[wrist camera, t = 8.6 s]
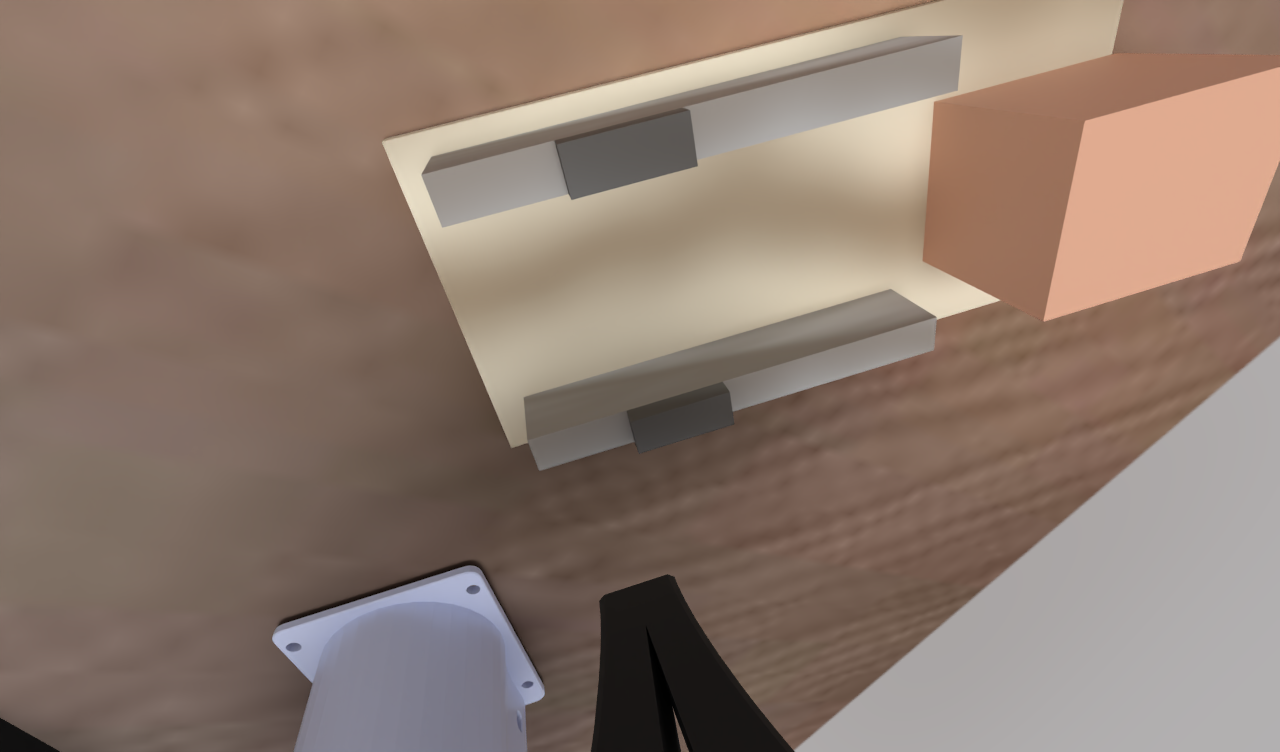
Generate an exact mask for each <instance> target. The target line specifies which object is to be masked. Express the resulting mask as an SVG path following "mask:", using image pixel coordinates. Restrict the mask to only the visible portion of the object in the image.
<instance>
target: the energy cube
mask: <svg viewBox="0 0 1280 752" xmlns="http://www.w3.org/2000/svg"><path fill="white" fill-rule="evenodd" d="M0 752H60V751H58V750H56V749H54V748H53V747H51V746H49V745H47V744H45V743H44V742H42V741H40V740H38V739H37V738H35V737H33V736H31V735H30V734H28V733H26V732H24V731H22V730H21V729H19V728H17V727H15V726H14V725H12V724H10V723H8V722H7V721H5V720H3V719H1V718H0Z"/></svg>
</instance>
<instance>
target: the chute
mask: <svg viewBox="0 0 1280 752" xmlns="http://www.w3.org/2000/svg"><path fill="white" fill-rule="evenodd" d="M1123 1H1124V0H935V1H931V2H927V3H923V4H919V5H915V6H912V7H908V8H904V9H900V10H896V11H892V12H888V13H884V14H880V15H876V16H872V17H868V18H864V19H860V20H856V21H852V22H848V23H844V24H840V25H836V26H832V27H828V28H824V29H820V30H816V31H812V32H808V33H804V34H800V35H796V36H792V37H788V38H784V39H780V40H776V41H772V42H768V43H764V44H760V45H756V46H752V47H748V48H744V49H740V50H736V51H732V52H728V53H724V54H720V55H716V56H712V57H708V58H704V59H700V60H696V61H692V62H688V63H684V64H680V65H676V66H672V67H668V68H664V69H660V70H656V71H652V72H648V73H644V74H640V75H636V76H633V77H629V78H625V79H621V80H617V81H613V82H609V83H605V84H601V85H597V86H593V87H589V88H585V89H581V90H577V91H573V92H569V93H565V94H561V95H557V96H553V97H549V98H545V99H541V100H537V101H533V102H529V103H525V104H521V105H517V106H513V107H509V108H505V109H501V110H497V111H493V112H489V113H485V114H481V115H477V116H473V117H469V118H465V119H461V120H457V121H453V122H449V123H445V124H441V125H437V126H433V127H429V128H425V129H421V130H417V131H413V132H409V133H405V134H401V135H397V136H393V137H389V138H386V139H384V140H383V141H382V144H383V146H384V148H385V151H386V153H387V155H388V158H389V160H390V162H391V165H392V167H393V170H394V172H395V174H396V177H397V179H398V181H399V184H400V186H401V188H402V191H403V193H404V196H405V198H406V200H407V203H408V205H409V207H410V210H411V212H412V214H413V217H414V219H415V222H416V224H417V226H418V229H419V231H420V233H421V236H422V238H423V240H424V243H425V245H426V248H427V250H428V252H429V255H430V257H431V259H432V262H433V264H434V266H435V269H436V271H437V274H438V276H439V278H440V281H441V283H442V285H443V288H444V290H445V292H446V295H447V297H448V300H449V302H450V304H451V307H452V309H453V311H454V314H455V316H456V318H457V321H458V323H459V326H460V328H461V330H462V333H463V335H464V337H465V340H466V342H467V344H468V347H469V349H470V352H471V354H472V356H473V359H474V361H475V363H476V366H477V368H478V370H479V373H480V375H481V378H482V380H483V382H484V385H485V387H486V389H487V392H488V394H489V396H490V399H491V401H492V404H493V406H494V408H495V411H496V413H497V415H498V418H499V420H500V422H501V425H502V427H503V430H504V432H505V434H506V437H507V439H508V441H509V444H510V446H511V448H513V447H516V446H519V445H523V444H526V443H528V444H529V446H530V449H531V451H532V454H533V456H534V459H535V461H536V464H537V466H538V469H539V471H541V470H544V469H547V468H551V467H554V466H557V465H560V464H564V463H567V462H570V461H573V460H577V459H580V458H583V457H587V456H590V455H593V454H596V453H600V452H603V451H606V450H609V449H613V448H616V447H619V446H622V445H626V444H629V443H632V442H635V444H636V447H637V449H638V452H639V454H640V453H643V452H646V451H649V450H653V449H656V448H659V447H662V446H665V445H669V444H672V443H675V442H678V441H682V440H685V439H688V438H691V437H695V436H698V435H701V434H704V433H708V432H711V431H714V430H717V429H721V428H724V427H727V426H730V425H734V418H733V411H737V410H740V409H743V408H746V407H750V406H753V405H756V404H759V403H763V402H766V401H769V400H773V399H776V398H779V397H782V396H786V395H789V394H792V393H795V392H799V391H802V390H805V389H808V388H812V387H815V386H818V385H821V384H825V383H828V382H831V381H835V380H838V379H841V378H844V377H848V376H851V375H854V374H857V373H861V372H864V371H867V370H870V369H874V368H877V367H880V366H884V365H887V364H890V363H893V362H897V361H900V360H903V359H906V358H910V357H913V356H916V355H919V354H923V353H926V352H929V351H932V350H934V343H935V332H936V321H937V319H940V318H944V317H947V316H950V315H954V314H957V313H960V312H964V311H967V310H970V309H974V308H977V307H980V306H983V305H987V304H990V303H993V302H997V301H1000V300H999V299H997V298H995V297H993V296H991V295H989V294H987V293H985V292H983V291H981V290H979V289H977V288H975V287H973V286H971V285H969V284H967V283H965V282H963V281H961V280H959V279H957V278H955V277H953V276H951V275H949V274H947V273H945V272H943V271H941V270H939V269H937V268H935V267H933V266H931V265H929V264H927V263H925V262H923V248H924V234H925V220H926V206H927V192H928V179H929V165H930V151H931V137H932V123H933V109H934V102H935V101H939V100H943V99H946V98H950V97H954V96H958V95H961V94H965V93H969V92H973V91H976V90H980V89H984V88H988V87H991V86H995V85H999V84H1003V83H1006V82H1010V81H1014V80H1018V79H1021V78H1025V77H1029V76H1033V75H1036V74H1040V73H1044V72H1048V71H1051V70H1055V69H1059V68H1063V67H1066V66H1070V65H1074V64H1077V63H1081V62H1085V61H1089V60H1092V59H1096V58H1100V57H1104V56H1107V55H1111V54H1112V51H1113V47H1114V42H1115V38H1116V33H1117V28H1118V24H1119V19H1120V15H1121V10H1122V5H1123Z"/></svg>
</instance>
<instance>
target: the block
mask: <svg viewBox="0 0 1280 752" xmlns="http://www.w3.org/2000/svg"><path fill="white" fill-rule="evenodd" d="M1279 161H1280V55H1226V54H1141V53H1115V54H1111V55H1107V56H1104V57H1100V58H1096V59H1092V60H1089V61H1085V62H1081V63H1077V64H1074V65H1070V66H1066V67H1063V68H1059V69H1055V70H1051V71H1048V72H1044V73H1040V74H1036V75H1033V76H1029V77H1025V78H1021V79H1018V80H1014V81H1010V82H1006V83H1003V84H999V85H995V86H991V87H988V88H984V89H980V90H976V91H973V92H969V93H965V94H961V95H958V96H954V97H950V98H946V99H943V100H939V101H935V102H934V109H933V123H932V137H931V151H930V165H929V179H928V192H927V206H926V220H925V234H924V248H923V262H925V263H927V264H929V265H931V266H933V267H935V268H937V269H939V270H941V271H943V272H945V273H947V274H949V275H951V276H953V277H955V278H957V279H959V280H961V281H963V282H965V283H967V284H969V285H971V286H973V287H975V288H977V289H979V290H981V291H983V292H985V293H987V294H989V295H991V296H993V297H995V298H997V299H999V300H1001V301H1003V302H1005V303H1007V304H1009V305H1011V306H1013V307H1015V308H1017V309H1019V310H1021V311H1023V312H1025V313H1027V314H1029V315H1031V316H1033V317H1035V318H1037V319H1039V320H1041V321H1043V322H1044V321H1047V320H1050V319H1054V318H1057V317H1060V316H1063V315H1067V314H1070V313H1073V312H1077V311H1080V310H1083V309H1086V308H1090V307H1093V306H1096V305H1099V304H1103V303H1106V302H1109V301H1112V300H1116V299H1119V298H1122V297H1125V296H1129V295H1132V294H1135V293H1138V292H1142V291H1145V290H1148V289H1151V288H1155V287H1158V286H1161V285H1164V284H1168V283H1171V282H1174V281H1177V280H1181V279H1184V278H1187V277H1190V276H1194V275H1197V274H1200V273H1203V272H1207V271H1210V270H1213V269H1216V268H1220V267H1223V266H1226V265H1229V264H1233V263H1236V262H1239V261H1240V260H1241V258H1242V255H1243V253H1244V250H1245V248H1246V245H1247V242H1248V240H1249V237H1250V235H1251V232H1252V230H1253V227H1254V225H1255V222H1256V220H1257V217H1258V214H1259V212H1260V209H1261V207H1262V204H1263V202H1264V199H1265V197H1266V194H1267V192H1268V189H1269V186H1270V184H1271V181H1272V179H1273V176H1274V174H1275V171H1276V169H1277V166H1278V164H1279Z"/></svg>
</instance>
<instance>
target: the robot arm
mask: <svg viewBox="0 0 1280 752" xmlns="http://www.w3.org/2000/svg"><path fill="white" fill-rule="evenodd" d="M471 585H477V586H471ZM599 602H600V614H601V653H600V671H599V685H598V695H597V705H596V716H595V726H594V734H593V741H592V748H591V752H681V749H680V744H679V738H678V733H677V728H676V723H675V717H674V712H675V715H676V717H677V720H678V723H679V726H680V728H681V731H682V734H683V737H684V739H685V742H686V745H687V748H688V750H689V752H794V750H793V749H792V748H791V747H790V746H789V745H788V743H787V742H786V741H785V740H784V739H783V737H782V736H781V735H780V734H779V733H778V731H777V730H776V729H775V728H774V727H773V725H772V724H771V723H770V722H769V720H768V719H767V718H766V717H765V715H764V714H763V713H762V712H761V710H760V709H759V708H758V707H757V705H756V704H755V703H754V702H753V700H752V699H751V698H750V696H749V695H748V694H747V692H746V691H745V690H744V689H743V687H742V686H741V685H740V683H739V682H738V680H737V679H736V678H735V676H734V675H733V674H732V672H731V671H730V669H729V668H728V667H727V665H726V664H725V662H724V661H723V660H722V658H721V657H720V656H719V654H718V653H717V651H716V650H715V648H714V647H713V645H712V644H711V642H710V641H709V639H708V638H707V636H706V635H705V633H704V631H703V630H702V628H701V627H700V625H699V623H698V622H697V620H696V619H695V617H694V615H693V613H692V612H691V610H690V608H689V606H688V605H687V603H686V601H685V599H684V597H683V595H682V593H681V591H680V589H679V587H678V585H677V582H676V580H675V577H674V576H671V575H668V574H667V575H664V576H661V577H658V578H655V579H652V580H649V581H646V582H643V583H640V584H637V585H634V586H631V587H628V588H624V589H621V590H618V591H615V592H612V593H609V594H606V595H604V596H603V597H602V598H601V600H600V601H599ZM272 640H273V642H274V644H275V645H276V646H277V647H278V648H279V649H280V650H281V651H282V652H283V653H284V654H285V655H286V656H287V657H288V658H289V659H290V660H291V661H292V663H293V664H294V665H295V666H296V667H297V668H298V669H299V670H300V671H301V672H302V673H303V674H304V675H305V676H306V677H307V678H308V679H309V680H310V681H311V683H312V688H311V692H310V695H309V699H308V702H307V706H306V709H305V713H304V716H303V720H302V723H301V727H300V730H299V734H298V737H297V741H296V744H295V748H294V751H293V752H527V738H526V717H525V705H527V704H530V703H533V702H536V701H538V700H540V699H541V698H543V697H544V695H545V691H544V685H543V683H542V681H541V679H540V677H539V676H538V674H537V672H536V670H535V668H534V666H533V665H532V663H531V661H530V659H529V657H528V655H527V654H526V652H525V650H524V648H523V646H522V644H521V642H520V641H519V639H518V637H517V635H516V633H515V631H514V630H513V628H512V626H511V624H510V622H509V620H508V619H507V617H506V615H505V613H504V611H503V609H502V607H501V606H500V604H499V602H498V600H497V598H496V596H495V595H494V593H493V591H492V589H491V587H490V585H489V584H488V582H487V580H486V578H485V576H484V574H483V573H482V571H481V570H480V569H479V568H478V567H476V566H470V565H469V566H464V567H461V568H458V569H455V570H451V571H448V572H445V573H442V574H439V575H436V576H433V577H429V578H426V579H423V580H420V581H417V582H414V583H410V584H407V585H404V586H401V587H398V588H395V589H392V590H388V591H385V592H382V593H379V594H376V595H373V596H369V597H366V598H363V599H360V600H357V601H354V602H351V603H347V604H344V605H341V606H338V607H335V608H332V609H328V610H325V611H322V612H319V613H316V614H313V615H310V616H306V617H303V618H300V619H297V620H294V621H291V622H287V623H284V624H282V625H280V626H278V627H277V628H276V629H275V631H274V634H273V638H272ZM672 706H673V707H672ZM673 709H674V712H673Z"/></svg>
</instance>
